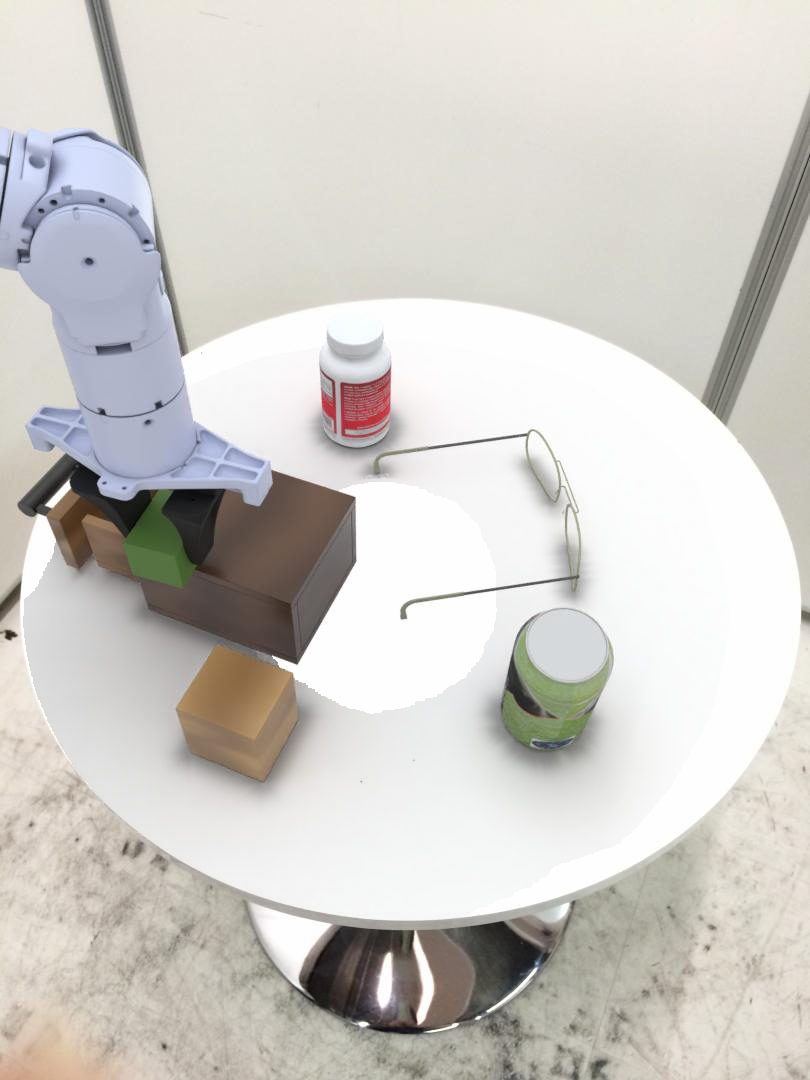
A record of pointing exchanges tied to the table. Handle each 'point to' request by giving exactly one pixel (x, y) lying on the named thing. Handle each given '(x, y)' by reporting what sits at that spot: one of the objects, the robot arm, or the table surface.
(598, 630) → the beverage can
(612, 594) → the table surface
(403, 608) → the eyeglasses
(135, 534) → the matte green cuboid
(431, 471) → the table surface
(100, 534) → the drawer
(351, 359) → the pill bottle
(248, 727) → the wooden block
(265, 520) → the cabinet
